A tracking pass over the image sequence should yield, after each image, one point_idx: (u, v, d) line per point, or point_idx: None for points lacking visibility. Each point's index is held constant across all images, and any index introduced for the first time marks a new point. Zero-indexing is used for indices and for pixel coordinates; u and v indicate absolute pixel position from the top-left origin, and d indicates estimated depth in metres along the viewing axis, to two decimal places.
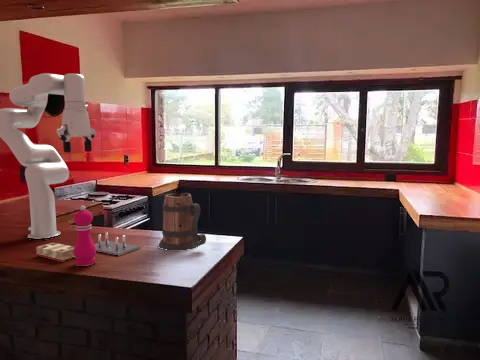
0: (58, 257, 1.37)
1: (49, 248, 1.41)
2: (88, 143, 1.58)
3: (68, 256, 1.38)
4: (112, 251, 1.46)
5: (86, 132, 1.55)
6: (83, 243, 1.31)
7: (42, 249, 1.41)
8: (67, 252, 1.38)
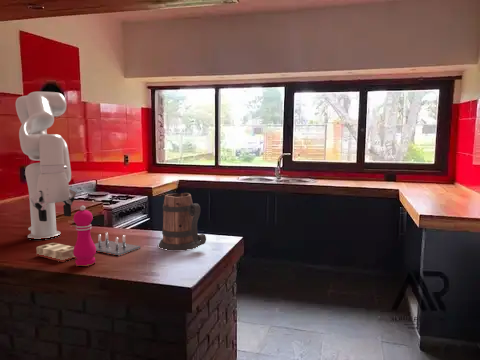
0: (58, 257, 1.37)
1: (49, 248, 1.41)
2: (67, 207, 1.44)
3: (68, 256, 1.38)
4: (112, 251, 1.46)
5: (64, 196, 1.41)
6: (83, 243, 1.31)
7: (42, 249, 1.41)
8: (67, 252, 1.38)
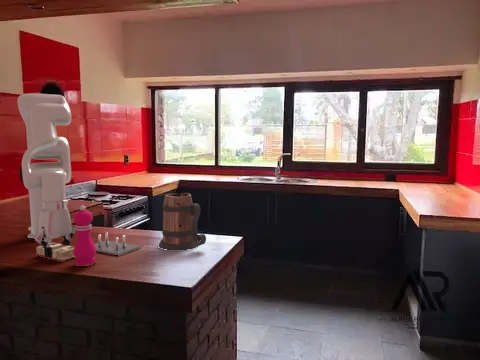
0: (58, 257, 1.37)
1: None
2: (66, 244, 1.44)
3: (68, 256, 1.38)
4: (112, 251, 1.46)
5: (66, 231, 1.43)
6: (83, 243, 1.31)
7: (42, 249, 1.41)
8: (67, 252, 1.38)
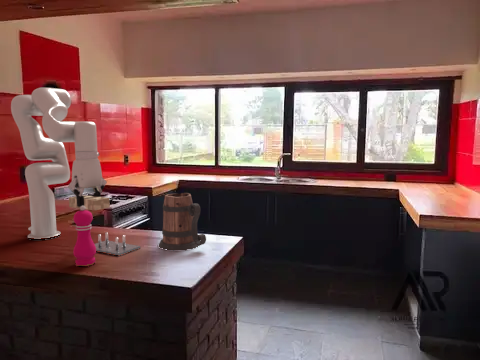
0: (90, 205, 1.40)
1: None
2: (97, 195, 1.48)
3: (99, 205, 1.41)
4: (112, 251, 1.46)
5: (97, 182, 1.46)
6: (83, 243, 1.31)
7: (74, 199, 1.45)
8: (98, 201, 1.41)
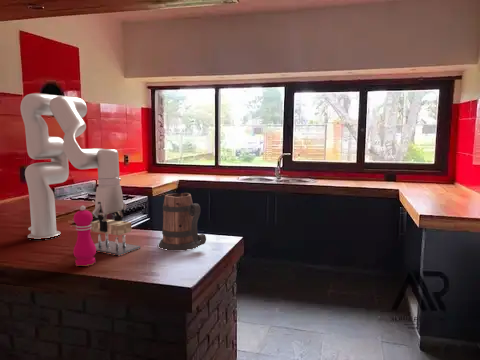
0: (114, 231, 1.45)
1: None
2: (118, 219, 1.53)
3: (123, 230, 1.46)
4: (112, 251, 1.46)
5: (119, 207, 1.51)
6: (83, 243, 1.31)
7: (97, 224, 1.49)
8: (122, 226, 1.46)
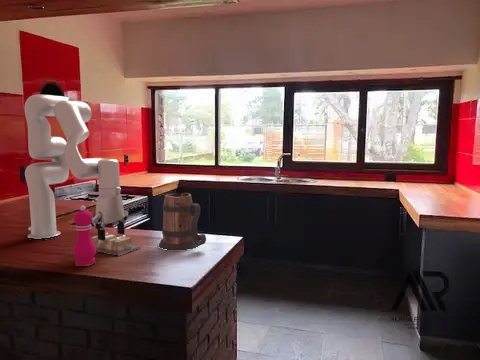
0: (114, 246, 1.46)
1: None
2: (121, 226, 1.54)
3: (123, 246, 1.47)
4: (112, 251, 1.46)
5: (120, 216, 1.51)
6: (83, 243, 1.31)
7: (97, 239, 1.50)
8: (122, 242, 1.47)
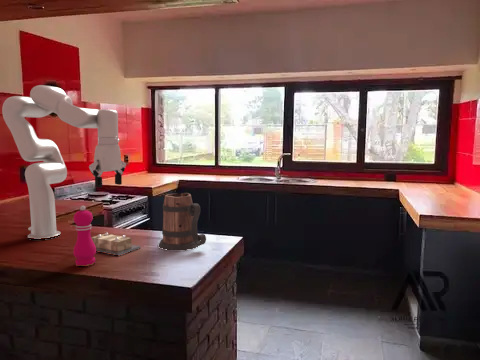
0: (114, 246, 1.46)
1: (104, 238, 1.50)
2: (118, 176, 1.59)
3: (123, 246, 1.47)
4: (112, 251, 1.46)
5: (117, 166, 1.57)
6: (83, 243, 1.31)
7: (97, 239, 1.50)
8: (122, 242, 1.47)
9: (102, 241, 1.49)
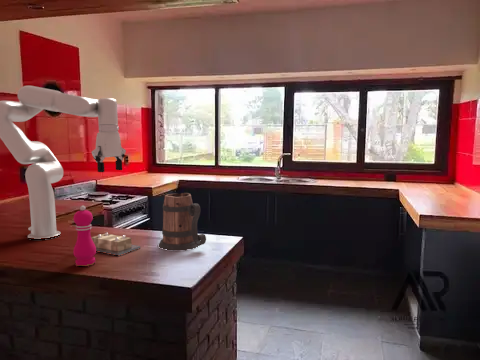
0: (114, 246, 1.46)
1: (104, 238, 1.50)
2: (119, 162, 1.68)
3: (123, 246, 1.47)
4: (112, 251, 1.46)
5: (118, 152, 1.65)
6: (83, 243, 1.31)
7: (97, 239, 1.50)
8: (122, 242, 1.47)
9: (102, 241, 1.49)
